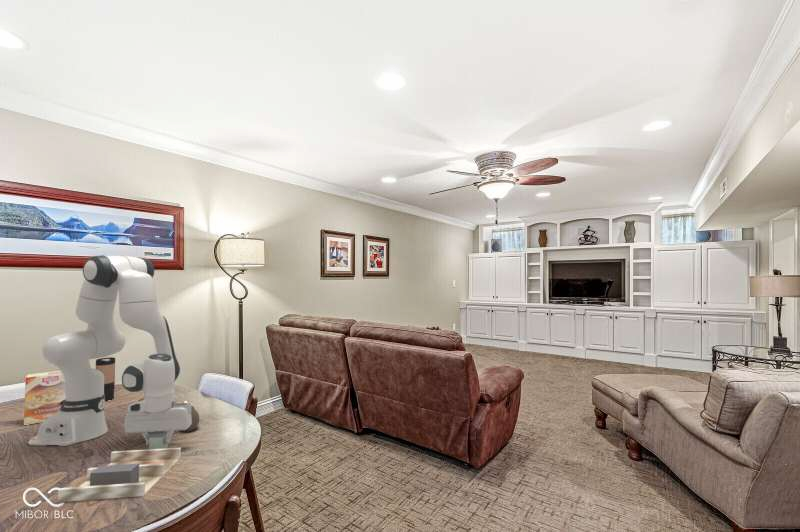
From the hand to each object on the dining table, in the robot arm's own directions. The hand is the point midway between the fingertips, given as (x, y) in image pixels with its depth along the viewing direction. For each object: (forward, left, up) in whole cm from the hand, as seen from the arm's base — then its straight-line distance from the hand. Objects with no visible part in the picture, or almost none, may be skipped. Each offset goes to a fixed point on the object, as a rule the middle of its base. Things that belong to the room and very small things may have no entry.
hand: (158, 443), depth 127 cm
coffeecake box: (-60, +37, -2) cm, 71 cm away
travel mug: (-54, +62, -2) cm, 82 cm away
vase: (+3, +17, -2) cm, 17 cm away
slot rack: (+1, -20, -2) cm, 20 cm away
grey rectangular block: (0, 0, -2) cm, 2 cm away
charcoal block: (+1, -25, -1) cm, 25 cm away
